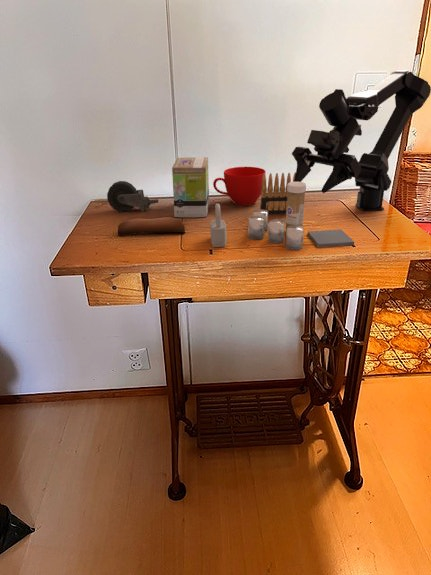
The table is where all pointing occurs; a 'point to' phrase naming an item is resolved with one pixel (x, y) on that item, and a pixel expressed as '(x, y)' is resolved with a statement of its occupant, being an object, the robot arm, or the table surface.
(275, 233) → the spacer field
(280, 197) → the ammunition clip
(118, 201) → the caster wheel
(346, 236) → the mat
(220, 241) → the padlock
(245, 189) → the ceramic cup
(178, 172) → the tea box
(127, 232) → the sunglasses case
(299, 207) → the sprinkles bottle
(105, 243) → the table surface
